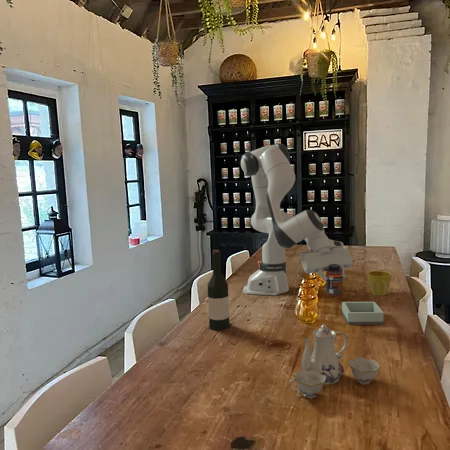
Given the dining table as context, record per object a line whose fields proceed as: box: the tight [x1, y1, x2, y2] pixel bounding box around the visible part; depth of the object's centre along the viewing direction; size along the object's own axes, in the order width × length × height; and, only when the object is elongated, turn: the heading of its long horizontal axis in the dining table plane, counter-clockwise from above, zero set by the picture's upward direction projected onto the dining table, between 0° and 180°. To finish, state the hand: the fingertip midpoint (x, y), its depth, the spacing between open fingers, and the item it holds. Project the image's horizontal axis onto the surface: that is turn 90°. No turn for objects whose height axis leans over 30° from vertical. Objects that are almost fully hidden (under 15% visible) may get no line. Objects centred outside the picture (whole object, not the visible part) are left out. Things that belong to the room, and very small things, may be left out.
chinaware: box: [287, 323, 382, 400], centre depth 119 cm, size 28×17×17 cm, turn 115°
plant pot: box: [367, 270, 392, 297], centre depth 196 cm, size 10×10×10 cm
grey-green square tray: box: [341, 301, 384, 325], centre depth 167 cm, size 13×13×4 cm
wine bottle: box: [207, 249, 231, 332], centre depth 163 cm, size 8×8×30 cm
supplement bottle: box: [325, 264, 343, 297], centre depth 161 cm, size 6×6×11 cm
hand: (335, 279), depth 160 cm, fingers closed on supplement bottle, 6 cm apart
